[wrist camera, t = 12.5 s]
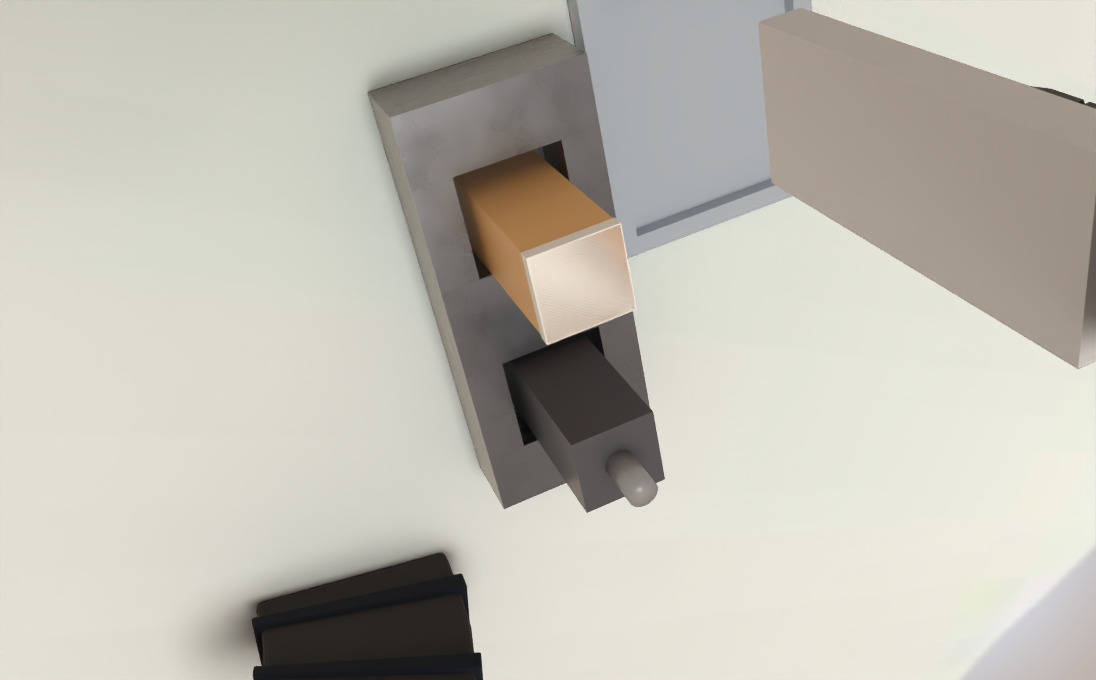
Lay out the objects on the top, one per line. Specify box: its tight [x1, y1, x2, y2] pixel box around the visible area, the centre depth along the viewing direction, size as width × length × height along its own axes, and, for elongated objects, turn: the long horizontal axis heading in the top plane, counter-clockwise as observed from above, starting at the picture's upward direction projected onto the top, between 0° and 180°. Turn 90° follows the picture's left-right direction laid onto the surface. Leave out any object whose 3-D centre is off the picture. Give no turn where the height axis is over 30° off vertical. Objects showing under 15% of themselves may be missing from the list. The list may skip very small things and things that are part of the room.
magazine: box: [252, 554, 483, 680], centre depth 55 cm, size 4×13×15 cm, turn 92°
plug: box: [452, 150, 637, 345], centre depth 46 cm, size 4×4×10 cm
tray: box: [567, 0, 812, 258], centre depth 52 cm, size 14×12×1 cm
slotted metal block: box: [368, 33, 650, 509], centre depth 52 cm, size 22×9×4 cm, turn 12°
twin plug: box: [502, 332, 665, 513], centre depth 50 cm, size 4×4×12 cm
